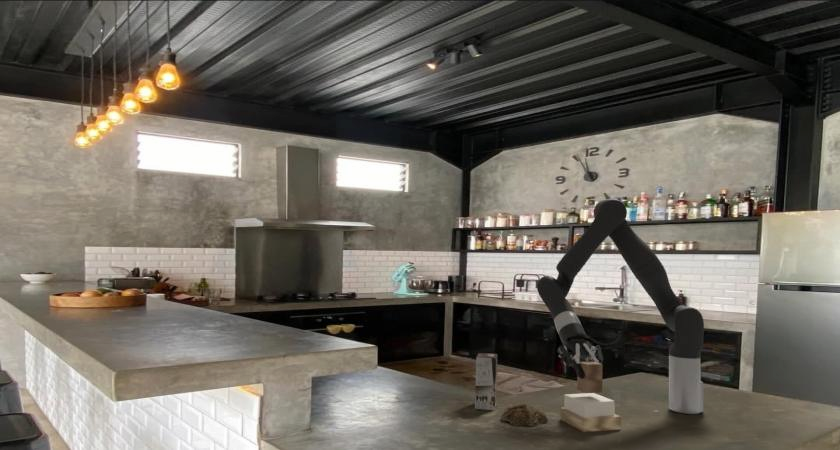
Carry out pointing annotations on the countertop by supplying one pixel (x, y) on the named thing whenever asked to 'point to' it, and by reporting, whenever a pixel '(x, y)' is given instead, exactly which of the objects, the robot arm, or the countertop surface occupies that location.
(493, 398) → the coffee box
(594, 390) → the walnut block
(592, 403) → the tower top
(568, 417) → the tower base
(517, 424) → the bread roll
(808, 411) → the countertop surface
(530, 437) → the countertop surface
